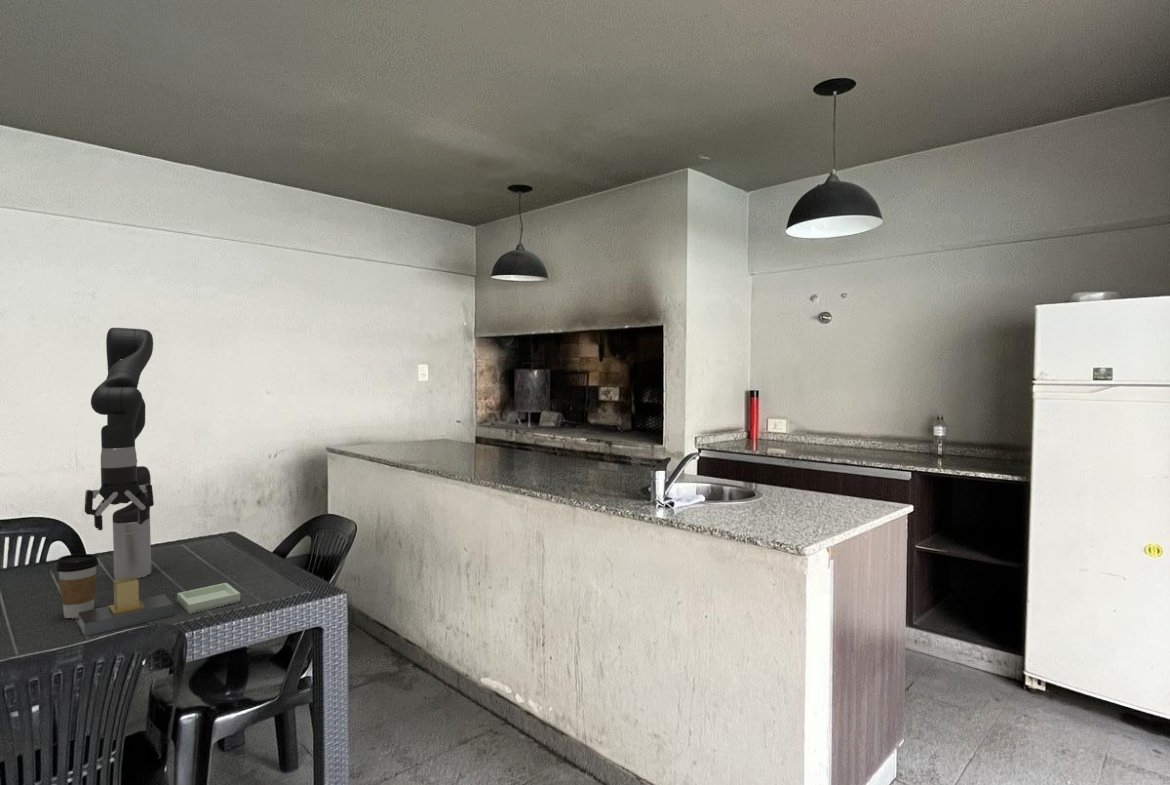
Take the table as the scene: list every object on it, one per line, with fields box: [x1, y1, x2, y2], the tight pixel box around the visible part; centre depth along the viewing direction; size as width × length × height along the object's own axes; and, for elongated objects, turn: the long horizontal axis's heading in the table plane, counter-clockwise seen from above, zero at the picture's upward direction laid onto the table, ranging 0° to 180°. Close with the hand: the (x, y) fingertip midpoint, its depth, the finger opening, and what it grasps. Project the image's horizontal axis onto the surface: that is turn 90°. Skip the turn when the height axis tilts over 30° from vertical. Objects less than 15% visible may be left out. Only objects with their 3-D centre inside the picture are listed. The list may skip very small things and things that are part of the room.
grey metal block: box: [77, 593, 175, 637], centre depth 159 cm, size 10×18×3 cm, turn 135°
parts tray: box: [176, 582, 241, 615], centre depth 171 cm, size 12×12×2 cm
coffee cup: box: [56, 553, 99, 620], centre depth 163 cm, size 8×8×15 cm
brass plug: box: [108, 576, 145, 615], centre depth 159 cm, size 6×6×10 cm
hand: (120, 526), depth 164 cm, fingers open, 8 cm apart
